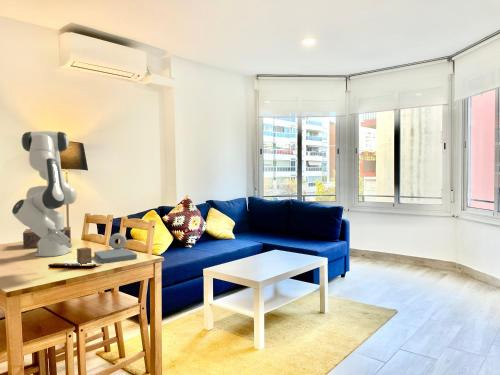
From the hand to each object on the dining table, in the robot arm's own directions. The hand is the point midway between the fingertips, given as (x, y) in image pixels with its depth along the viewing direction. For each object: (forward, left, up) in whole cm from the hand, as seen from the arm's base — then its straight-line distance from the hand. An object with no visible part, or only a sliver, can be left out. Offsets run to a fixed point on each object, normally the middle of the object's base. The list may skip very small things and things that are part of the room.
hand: (66, 245), depth 187 cm
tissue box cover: (-70, 0, -12) cm, 71 cm away
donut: (-32, +33, -12) cm, 48 cm away
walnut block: (-2, +8, -12) cm, 15 cm away
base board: (-12, +26, -12) cm, 31 cm away
